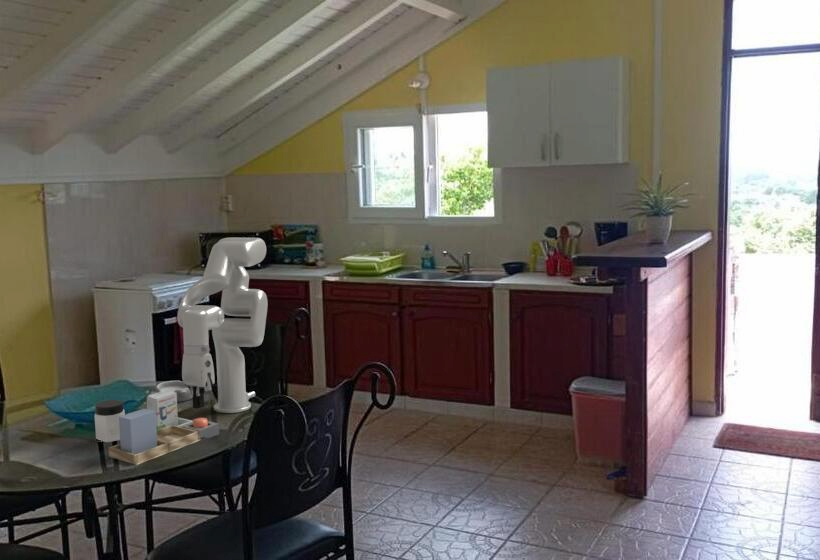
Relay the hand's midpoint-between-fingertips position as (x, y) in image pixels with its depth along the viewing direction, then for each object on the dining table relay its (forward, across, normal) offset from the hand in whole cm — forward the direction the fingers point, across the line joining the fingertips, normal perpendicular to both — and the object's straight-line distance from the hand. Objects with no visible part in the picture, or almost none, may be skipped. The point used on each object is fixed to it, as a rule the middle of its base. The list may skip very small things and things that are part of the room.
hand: (198, 407), depth 260 cm
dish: (+9, +39, -26) cm, 48 cm away
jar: (+10, +20, +17) cm, 28 cm away
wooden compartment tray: (+10, +1, +16) cm, 19 cm away
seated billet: (+9, +1, +22) cm, 24 cm away
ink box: (+10, +15, +1) cm, 18 cm away
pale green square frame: (+9, +15, +1) cm, 18 cm away
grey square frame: (+10, 0, -1) cm, 10 cm away
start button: (+8, 0, -1) cm, 8 cm away
